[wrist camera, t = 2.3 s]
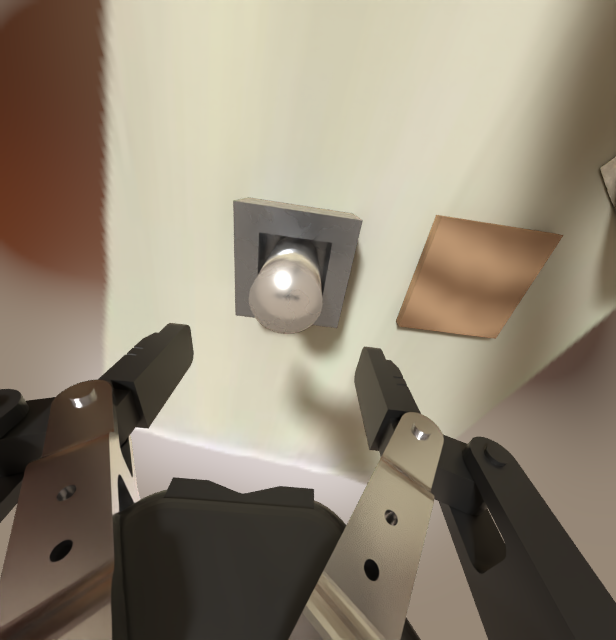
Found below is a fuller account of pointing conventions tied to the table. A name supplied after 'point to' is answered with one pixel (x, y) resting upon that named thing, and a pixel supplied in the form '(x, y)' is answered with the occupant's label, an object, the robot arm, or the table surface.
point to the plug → (288, 287)
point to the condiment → (610, 179)
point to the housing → (300, 222)
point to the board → (473, 276)
